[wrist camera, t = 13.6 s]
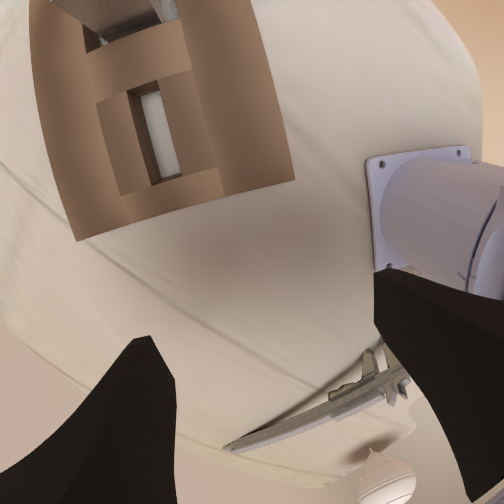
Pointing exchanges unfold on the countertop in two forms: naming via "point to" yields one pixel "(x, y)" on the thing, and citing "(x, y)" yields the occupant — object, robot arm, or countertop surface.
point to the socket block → (175, 104)
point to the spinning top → (385, 481)
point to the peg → (114, 15)
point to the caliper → (337, 402)
